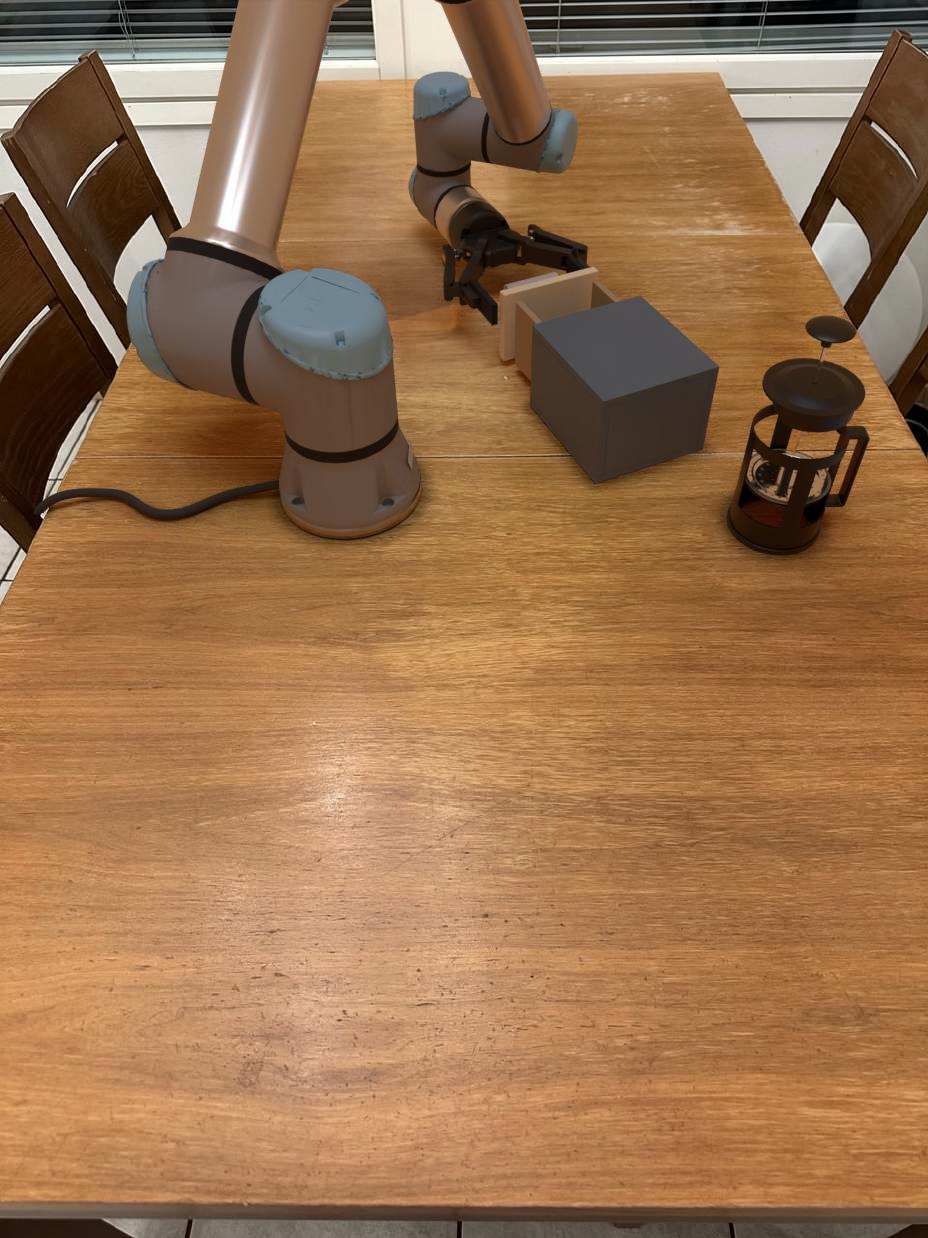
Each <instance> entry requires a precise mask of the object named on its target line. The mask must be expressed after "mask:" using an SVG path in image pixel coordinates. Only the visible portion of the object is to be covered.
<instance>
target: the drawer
mask: <svg viewBox="0 0 928 1238" xmlns="http://www.w3.org/2000/svg"><path fill="white" fill-rule="evenodd" d="M618 301H621V300H620V298H618V296H616V295H615V294H614V293H613V292H612V291H611V290H610V289H609V288H607V287H606V286H605V285H604V283H602V281H600V280H599V270H598V269H597V268H596V267H595V266H590V268H586V269H583V270H579V271H575V272H571V273H567V274H566V273H564V274H560V275H559V273H558V272H557V271H551V272H548V273H545V274H540V275H536V276H533V277H530V278H525V279H521V280H518V281H517V280H516V281H513V282H510V283H506V284H504V285H503V289H502V290H500V291H499V358H500V359H501V360H502V361H503V362H505V361H509V360H513V359H514V364H515V365H516V366H517V367H518V369H519V370H520V371H521V373H523V375H524V376H525V377H526V378H527V379H528V381H530V382H531V357H532V325H533V324H537V323H541V322H545V321H548V320H552V319H556V318H559V317H563V316H567V315H570V314H574V313H578V312H581V311H585V310H589V309H592V308H596V307H600V306H603V305H607V304H611V303H615V302H618Z"/></svg>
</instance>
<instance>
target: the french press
mask: <svg viewBox="0 0 928 1238" xmlns="http://www.w3.org/2000/svg"><path fill="white" fill-rule="evenodd" d="M804 327H805V331H806V333H807V334H808V335H809V336H810V337H811V338H813V339H814V340H817V341H820V346H821V347H822V349H821V353H820V356H819V359H818V358H811V357H798V358H796V357H795V358H790V359H785V360H782V361H779V362H776V363H774V364H773V365H771V366H770V367H769V368H768V369H766V371H765V373H764V375H763V376H762V381H761V382H762V384H761V385H762V390H763V392H764V394H765V396H766V397H767V399H769V400H770V402H772V403H771V404H769V405H768V404H767V405H766V406H764V407H762V408H760V409H759V410H758V411H757V412H756V413H755V415H754V416H753V418H752V421H751V425H750V429H749V434H748V439H747V441H746V446H745V450H744V454H743V459H742V462H741V467H740V470H739V475H738V478H737V483H736V486H735V489H734V493H733V497H732V501H731V503H730V505H729V507H728V509H727V513H726V524H727V527H728V529H729V531H730V533H731V534H732V536H733V537H734V538H736V539H737V541H738V542H740V543H742V545H745V546H746V547H748V548H750V549H752V550H753V551H754V550H755V551H757V552H759V553H763V554H767V555H768V554H769V555H776V556H786V555H787V556H788V555H795V554H799V553H802V552H804V551H806V550H808V549H809V548H811V547H812V546H813V545H814V544H815V543H816V542H817V540H818V538H819V536H820V533H821V528H822V527H821V523H822V521H823V518H824V516H825V511H826V508H844V507H845V506H846V504H847V502H848V500H849V496H850V494H851V491H852V488H853V485H854V483H855V480H856V477H857V474H858V472H859V469H860V466H861V465H862V461H863V459H864V455H865V453H866V450H867V449H868V445H869V443H870V436H869V433H868V430H867V428H866V427H865V426H864V425H848V424H849V423H850V421H852V418H853V417H854V414H855V412H856V411H857V410H859V409H860V408H861V407H862V405H863V403H864V401H865V399H866V388H865V385H864V383H863V382H862V380H861V379H860V378H859V377H858V376H857V375H856V373H854V372H853V371H851V370H850V369H848V368H846V367H844V366H842V365H839V364H837V363H835V362H831V361H829V360H825V357H826V353H827V350H828V349H830V348H831V347H832V345H833V344H844V343H847V342H850V341H853V340H854V338H856V336H857V329H856V327H855V325H854V324H853V323H851V322H850V321H849V320H846V319H845V318H842V317H839V316H834V315H818V316H814V317H812V318H810V319H808V320H807V322H806V323H805V326H804ZM772 416H777V419H776V422H775V425H774V430H773V433H772V436H771V439H770V444H769V446H768V445H767V444H765V443H764V442H763V440H761V438H760V437H759V436H758V434H757V432H756V430H755V426H756V425H758V423H759V422H761V421H763V420H764V419H767V418H769V417H772ZM793 430H796V431H797V434H796V438H795V441H794V444H793V448H792V449H788V446H789V442H790V439H791V435H792V432H793ZM834 431H836V432H837V434H838V435H839V436H838V439H837V442H836V445H835V449H834V452H833V454H831V455H828V456H824V457H818V458H814V457H813V456H811V455H809V454H806V453H804V452H801V451H798V450H797V449H798V446H799V443H800V440H801V436H802V433H803V432H805V433H815V434H816V433H817V434H819V433H828V432H834ZM854 440H856V444H855V446H854V448H853V452H852V455H851V457H850V460H849V463H848V466H847V468H846V472H845V474H844V477H843V480H842V482H841V486H840V488H839V491H838V493H831V491H832V489H833V486H834V484H835V483H834V482H835V479H836V476H837V474H838V472H839V468H840V465H841V463H842V459H843V458H844V456H845V454H846V452H847V450H848V447H849V444H850V441H854ZM754 451H755V452H756V453H754ZM761 500H762V501H764V502H767V503H769V504H772V505H774V506H778V507H782V508H783V507H784V508H785V510H784V513H783V517H782V519H781V522H780V526H779V527H778V526H772V525H768V524H766V523H763V522H760V521H758V520H756V519H754V518H753V517H751V516H750V515H748V513H746V511H744V510H743V509H744V508H745V507H746V506H747V505H749V504H750V503H751V504H752V503H753V502H757V501H761ZM803 516H804V518H805V521H806V525H804V526H800V523H801V520H802V518H803Z"/></svg>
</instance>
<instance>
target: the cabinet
mask: <svg viewBox="0 0 928 1238" xmlns="http://www.w3.org/2000/svg"><path fill="white" fill-rule="evenodd" d="M719 371H720V365H719V364H717V363H716V362H715V361H714V360H713V359H712V358H711V357H709V356H708V355H707V354H706V353H705V351H703V350H702V349H701V348H700V347H699V346H697V345H696V344H695V343H694V341H692V340H691V339H690V338H688V337H687V336H686V334H684V333H683V332H682V331H681V330H680V329H678V327H676V326H675V325H674V324H673V323H672V322H670V320H669V319H667V317H665V316H664V315H663V314H662V313H661V312H660V311H658V310H657V309H656V308H655V307H654V306H653V305H651V303H649V302H648V300H646V299H645V298H644V297H643V296H642V295H637V296H633V297H630V298H626V299H622V300H620V301H618V302H615V303H611V304H607V305H603V306H600V307H596V308H592V309H589V310H585V311H581V312H578V313H574V314H570V315H567V316H563V317H559V318H556V319H552V320H548V321H545V322H541V323H537V324H533V325H532V357H531V381H530V390H529V391H530V392H529V406H530V408H531V409H532V410H533V411H534V412H535V414H536V415H537V416H538V417H539V418H540V420H541V421H542V423H544V424H545V426H546V427H547V428H548V430H549V431H550V432H551V433H552V434H553V435H554V436H555V438H556V439H557V441H558V442H559V443H560V444H561V445H562V446H563V447H564V448H565V450H566V451H567V452H568V454H570V456H571V457H572V458H573V459H574V460H575V462H576V463H577V464H578V465H579V467H580V468H581V469H582V470H583V471H584V473H585V474H586V475H587V476H588V478H589V479H590V480H591V481H592V482H593V484H594V485H597V484H600V483H602V482H606V481H608V480H612V479H615V478H618V477H620V476H624V475H627V474H630V473H634V472H636V471H640V470H642V469H646V468H649V467H652V466H655V465H658V464H661V463H664V462H667V461H670V460H673V459H676V458H677V459H678V458H680V457H682V456H686V455H689V454H691V453H695V452H698V451H701V450H703V449H704V444H705V440H706V434H707V429H708V424H709V420H710V415H711V410H712V405H713V401H714V396H715V390H716V385H717V381H718V376H719Z"/></svg>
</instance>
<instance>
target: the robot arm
mask: <svg viewBox="0 0 928 1238" xmlns="http://www.w3.org/2000/svg"><path fill="white" fill-rule="evenodd" d="M349 1H350V0H238V3H237V8H236V12H235V16H234V20H233V25H232V30H231V34H230V39H229V42H228V48H227V52H226V57H225V60H224V66H223V70H222V74H221V79H220V83H219V88H218V93H217V96H216V100H215V105H214V109H213V114H212V121H211V124H210V128H209V132H208V138H207V141H206V146H205V150H204V155H203V160H202V164H201V168H200V173H199V177H198V182H197V186H196V191H195V195H194V200H193V205H192V209H191V213H190V218H189V222H188V223H187V224H186V225H185V226H183V227H181V228H179V229H178V230H175V231H174V232H172V233H170V234H169V236H168V240H167V244H166V249H165V254H164V258H158V259H157V258H156V259H155V260H151V261H149V262H147V263H145V264H144V265H143V266H142V268H141V269H142V270H139V271H137V272H136V274H135V275H134V277H133V279H132V281H131V283H130V287H129V290H128V293H127V301H126V323H127V330H128V334H129V338H130V342H131V344H132V346H133V347H134V348H135V352H136V355H137V358H138V359H139V361H140V362H141V363H142V364H143V366H144V367H145V368H146V369H147V370H148V371H149V372H150V373H151V374H152V375H154V376H156V377H157V378H159V379H161V380H163V381H166V382H170V383H173V384H176V385H178V386H180V387H182V388H184V389H187V390H190V391H194V392H198V391H200V392H204V393H207V394H211V395H216V396H218V397H222V398H223V397H224V398H227V399H231V400H235V401H238V402H242V403H246V404H251V405H255V406H258V407H263V408H266V409H270V410H273V411H276V412H278V413H279V414H280V419H281V423H282V427H283V432H284V436H285V445H284V450H283V455H282V461H281V468H280V471H279V478H278V479H274V480H269V481H264V482H260V483H254V484H249V485H244V486H239V487H235V488H230V489H226V490H224V491H220V492H218V493H216V494H213V495H210V496H208V497H206V498H203V499H201V500H198V501H196V502H194V503H191V504H188V505H185V506H182V507H178V508H170V509H169V508H167V509H166V508H157V507H154V506H151V505H149V504H147V503H145V502H144V501H143V500H141V499H139V498H138V497H137V496H135V495H133V494H131V493H130V492H127V491H125V490H122V489H118V488H117V489H116V488H106V487H105V488H103V487H79V488H70V489H65V490H60V491H58V492H55V493H53V494H51V495H49V496H47V497H46V498H44V499H42V501H40V502H39V503H38V504H37V505H36V507H35V508H34V510H33V514H34V515H42V514H45V512H46V511H47V510H48V509H49V508H50V507H52V506H54V505H56V504H58V503H60V502H63V501H67V500H70V499H78V498H79V499H80V498H105V499H117V500H121V501H123V502H126V503H127V504H129V505H131V506H132V507H133V508H135V509H136V510H138V511H139V512H140V513H142V514H144V515H146V516H149V517H151V518H156V519H163V520H165V519H167V520H168V519H169V520H171V519H180V518H183V517H184V518H185V517H188V516H191V515H193V514H197V513H199V512H201V511H203V510H205V509H209V508H210V507H212V506H215V505H218V504H220V503H223V502H226V501H228V500H232V499H236V498H241V497H245V496H251V495H255V494H260V493H265V492H270V491H275V490H278V492H279V497H280V501H281V506H282V509H283V511H284V513H285V515H286V516H287V518H288V519H289V520H290V521H291V522H292V523H293V524H295V525H296V526H297V527H299V528H300V529H302V530H304V531H305V532H308V533H310V534H312V535H315V536H318V537H323V538H329V539H339V540H340V539H341V540H350V539H359V538H364V537H370V536H373V535H376V534H380V533H382V532H385V531H388V530H389V529H391V528H393V527H395V526H396V525H398V524H400V523H402V522H403V520H405V519H406V518H407V517H408V516H409V515H410V514H411V513H412V512H413V511H414V509H415V508H416V506H417V505H418V503H419V501H420V498H421V495H422V477H421V476H422V475H421V469H420V466H419V463H418V460H417V458H416V456H415V453H414V447H413V446H414V445H413V444H412V442H411V441H409V442H408V441H407V438H406V436H405V435H404V433H403V431H402V428H401V427H400V422H399V410H398V399H397V387H396V377H395V365H394V339H393V334H392V332H391V328H390V324H389V323H390V321H389V318H388V317H389V316H388V312H387V309H386V305H384V303H383V301H382V299H381V297H380V295H379V294H378V292H376V290H374V288H373V287H372V286H370V285H369V284H368V283H366V281H364V280H362V279H361V278H359V277H356V276H355V275H352V274H350V273H346V272H343V271H340V270H336V269H332V268H330V269H329V268H322V267H321V268H320V267H312V268H311V270H310V271H306V270H304V269H302V268H299V269H293V270H290V271H289V270H288V271H286V269H285V268H284V266H283V264H282V262H281V260H280V259H279V257H278V253H277V250H278V245H279V241H280V237H281V232H282V229H283V225H284V221H285V216H286V211H287V207H288V204H289V198H290V195H291V191H292V187H293V181H294V178H295V173H296V170H297V165H298V161H299V158H300V157H299V156H300V152H301V148H302V144H303V139H304V136H305V131H306V127H307V123H308V118H309V114H310V110H311V105H312V102H313V97H314V93H315V89H316V84H317V80H318V77H319V76H318V75H319V71H320V67H321V63H322V59H323V54H324V51H325V45H326V42H327V37H328V34H329V29H330V24H331V22H332V20H331V19H332V17H333V13H334V9H335V8H337V7H339V6H342V5H343V4H345V3H348V2H349ZM433 1H434V2H435V3H438V4H440V5H441V8H442V10H443V12H444V14H445V15H444V16H445V17H446V20H447V21H448V24H449V27H450V29H451V31H452V33H453V36H454V38H455V41H456V42H457V43H456V44H457V45H458V47H459V49H460V52H461V54H462V56H463V59H464V61H465V64H466V66H467V68H468V70H469V72H470V75H471V78H472V80H473V82H474V84H475V87H476V89H477V91H478V94H479V96H480V97H477V96H472V90H471V86H470V82H469V80H468V78H467V77H466V76H465V75H463V74H459V73H458V72H455V71H436V72H431V73H427V74H424V75H422V76H421V77H420V78H419V79H418V80H417V81H416V82H415V83H414V86H413V89H412V91H413V93H412V94H413V95H412V96H413V98H412V99H413V100H412V101H413V103H412V104H413V105H412V106H413V107H412V108H413V110H412V112H413V113H412V120H413V127H414V141H415V157H416V166H415V167H414V168H413V170H412V172H411V175H410V177H409V181H408V186H407V187H408V188H407V189H408V195H409V198H410V200H411V201H412V204H413V205H414V206H415V207H416V208H417V209H416V210H417V211H418V212H419V213H420V215H421V216H422V217H423V218H424V219H426V221H428V222H429V223H430V225H431V226H432V227H433V228H434V229H435V230H436V231H437V232H438V233H439V234H440V235H441V236H442V238H444V240H445V241H446V242H447V243H448V244H446V243H445V244H443V245H442V246H441V257H442V266H443V279H442V288H443V300H444V301H445V302H451V301H454V298H458V304H459V306H461V307H465V306H466V307H467V306H468V307H469V308H470V309H472V310H476V309H477V310H478V311H479V313H480V314H481V315H482V316H483V317H484V319H486V321H487V322H488V323H489V324H490V325H491V326H493V327H494V326H496V325H497V326H498V324H499V304H498V303H497V302H496V300H495V299H494V298H493V296H492V295H490V293H488V291H487V290H486V289H485V288H484V287H483V286H482V285H481V284H480V282H479V279H480V278H481V277H483V276H484V274H485V272H486V270H487V269H488V268H491V269H494V268H497V267H500V266H502V265H510V264H514V265H519V266H526V265H527V264H530V265H535V266H541V267H545V268H548V269H549V268H550V269H554V270H559V271H564V272H565V274H567V273H571V272H575V271H579V270H583V269H586V268H590V267H591V266H590V265H589V264H588V252H589V246H588V245H586V244H585V243H584V244H583V243H581V242H578V241H575V240H573V239H570V238H567V237H564V236H561V235H558V234H556V233H553V232H550V231H547V230H544V229H543V228H541V227H540V226H538V225H537V224H535V223H530V224H528V225H527V230H526V231H524V232H521V233H520V232H518V231H516V230H514V229H511V227H510V224H509V223H508V220H507V219H506V217H505V216H504V215H502V213H501V212H500V211H498V210H497V208H495V207H494V206H493V205H492V203H490V202H489V200H487V199H486V198H485V197H484V196H483V195H482V194H481V193H480V192H479V191H478V190H477V189H476V188H475V187H473V186H472V175H471V174H472V173H471V172H472V170H471V169H472V167H471V166H472V162H477V163H483V164H488V165H489V164H490V165H496V166H503V167H507V168H512V169H519V170H523V171H530V172H535V173H537V174H540V173H545V174H555V175H556V174H557V175H560V174H563V173H564V172H566V171H567V170H568V168H569V167H570V166H571V163H572V161H573V159H574V156H575V152H576V148H577V144H578V135H579V126H578V119H577V116H576V114H575V113H573V112H572V111H570V110H567V109H562V108H561V107H560V106H557V107H552V105H551V101H550V98H549V95H548V93H547V89H546V86H545V83H544V80H543V76H542V73H541V69H540V66H539V63H538V60H537V56H536V54H535V51H534V47H533V44H532V41H531V37H530V34H529V30H528V28H527V27H528V26H527V24H526V20H525V19H524V15H523V12H522V7H521V4H520V1H519V0H433ZM519 252H520V255H519ZM461 259H462V260H463V261H464V262H465V263H467V264H466V265H465V267H464V269H463V270H462V273H461V275H460V276H459V278H458V281H456V277H457V276H456V274H457V272H456V271H457V269H456V268H458V266H459V265H458V264H459V263H460V262H461Z"/></svg>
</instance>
